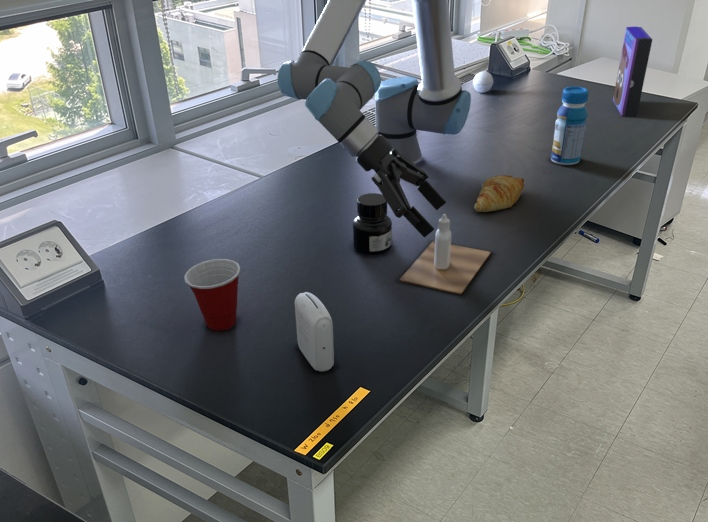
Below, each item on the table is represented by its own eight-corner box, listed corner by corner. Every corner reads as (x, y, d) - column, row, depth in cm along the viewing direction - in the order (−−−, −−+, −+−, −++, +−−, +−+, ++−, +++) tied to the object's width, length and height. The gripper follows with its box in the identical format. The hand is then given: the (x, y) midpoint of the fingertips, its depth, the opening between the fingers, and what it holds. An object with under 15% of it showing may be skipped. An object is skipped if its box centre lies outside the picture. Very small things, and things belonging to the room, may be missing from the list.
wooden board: (433, 242, 170) (433, 240, 170) (490, 253, 165) (491, 251, 165) (399, 281, 156) (399, 279, 156) (461, 294, 151) (461, 293, 150)
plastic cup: (195, 311, 149) (185, 259, 142) (247, 307, 150) (241, 255, 143) (190, 340, 140) (180, 287, 133) (246, 336, 141) (239, 282, 134)
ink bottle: (378, 260, 164) (378, 211, 157) (345, 251, 168) (344, 203, 161) (399, 242, 171) (399, 195, 164) (366, 234, 175) (366, 187, 168)
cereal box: (612, 100, 252) (626, 26, 238) (627, 100, 252) (641, 26, 238) (621, 116, 238) (636, 38, 224) (636, 116, 238) (652, 38, 224)
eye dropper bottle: (456, 261, 161) (460, 211, 154) (444, 272, 158) (447, 221, 151) (439, 256, 164) (442, 207, 156) (426, 267, 160) (428, 216, 153)
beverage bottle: (573, 168, 204) (585, 95, 192) (545, 162, 208) (554, 91, 197) (584, 158, 209) (597, 87, 198) (557, 153, 214) (567, 83, 202)
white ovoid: (468, 93, 265) (470, 72, 261) (477, 88, 270) (478, 68, 265) (494, 97, 260) (495, 76, 256) (502, 92, 265) (504, 71, 261)
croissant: (484, 230, 182) (500, 208, 175) (456, 204, 184) (470, 181, 177) (527, 201, 194) (543, 179, 188) (500, 177, 196) (514, 154, 190)
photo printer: (337, 368, 131) (335, 310, 124) (315, 374, 130) (312, 316, 123) (315, 339, 139) (312, 283, 132) (295, 345, 138) (290, 289, 130)
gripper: (370, 137, 162) (434, 205, 167) (337, 180, 143) (410, 255, 148) (393, 114, 157) (458, 185, 162) (363, 155, 138) (437, 235, 143)
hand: (435, 219), depth 155 cm, fingers open, 13 cm apart
